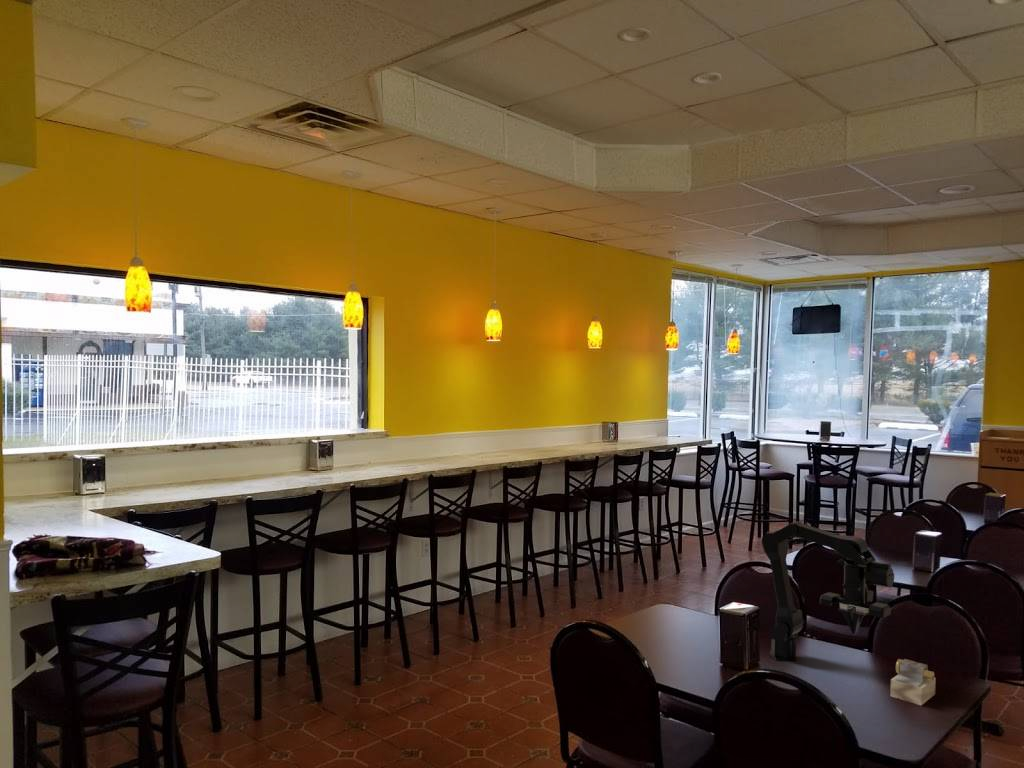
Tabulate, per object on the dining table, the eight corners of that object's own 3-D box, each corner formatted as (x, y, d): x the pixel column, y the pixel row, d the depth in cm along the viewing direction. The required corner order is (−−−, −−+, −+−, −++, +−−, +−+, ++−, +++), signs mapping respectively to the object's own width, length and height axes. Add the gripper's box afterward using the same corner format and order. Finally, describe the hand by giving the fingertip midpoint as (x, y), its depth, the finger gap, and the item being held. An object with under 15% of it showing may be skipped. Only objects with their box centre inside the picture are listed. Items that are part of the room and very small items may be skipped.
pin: (895, 675, 216) (895, 660, 216) (900, 671, 219) (901, 657, 218) (930, 685, 209) (930, 670, 209) (935, 681, 212) (935, 666, 212)
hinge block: (890, 696, 213) (891, 664, 213) (905, 685, 221) (905, 654, 221) (921, 705, 208) (922, 673, 207) (935, 694, 215) (936, 662, 215)
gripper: (898, 582, 225) (898, 635, 225) (835, 570, 238) (835, 620, 238) (882, 589, 217) (882, 644, 217) (819, 576, 231) (818, 628, 231)
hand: (854, 633), depth 226 cm, fingers closed
